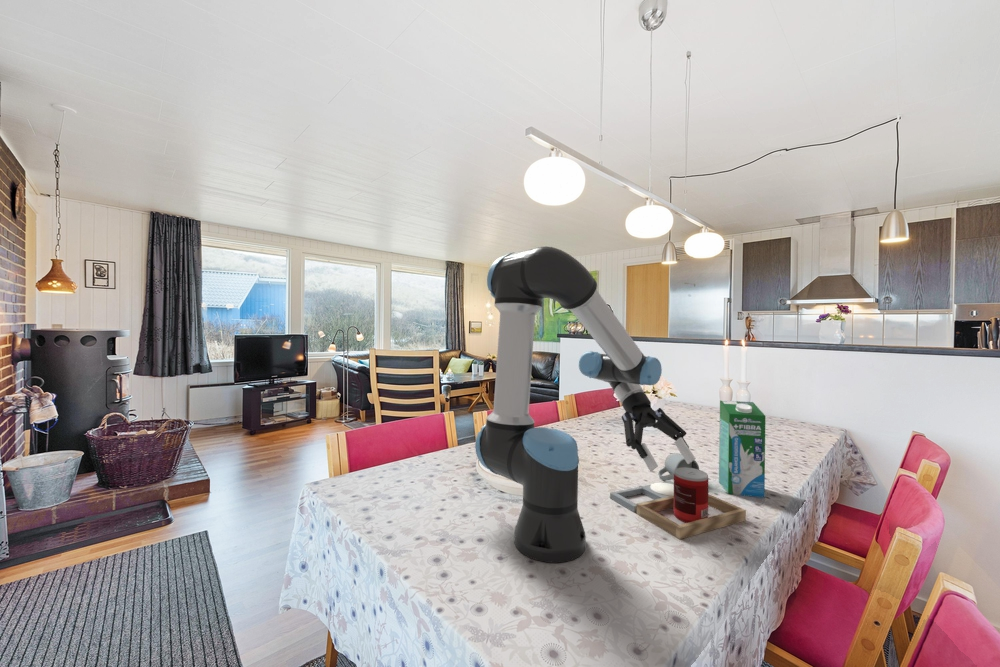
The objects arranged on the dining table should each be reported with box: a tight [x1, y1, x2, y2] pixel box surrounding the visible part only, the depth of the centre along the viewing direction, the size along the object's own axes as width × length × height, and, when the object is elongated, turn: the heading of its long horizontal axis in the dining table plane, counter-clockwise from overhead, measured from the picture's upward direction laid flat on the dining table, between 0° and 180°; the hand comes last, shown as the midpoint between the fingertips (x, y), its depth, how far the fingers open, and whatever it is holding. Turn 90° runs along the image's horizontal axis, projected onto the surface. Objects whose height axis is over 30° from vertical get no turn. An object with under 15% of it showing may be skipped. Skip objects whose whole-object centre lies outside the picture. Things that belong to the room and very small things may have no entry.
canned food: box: [673, 467, 709, 523], centre depth 97 cm, size 8×8×11 cm
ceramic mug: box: [657, 452, 700, 481], centre depth 122 cm, size 11×8×8 cm
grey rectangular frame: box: [609, 480, 674, 513], centre depth 108 cm, size 22×9×2 cm, turn 114°
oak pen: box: [636, 493, 747, 540], centre depth 97 cm, size 22×13×2 cm, turn 114°
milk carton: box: [718, 400, 766, 498], centre depth 114 cm, size 9×9×25 cm
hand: (673, 465), depth 103 cm, fingers open, 13 cm apart
